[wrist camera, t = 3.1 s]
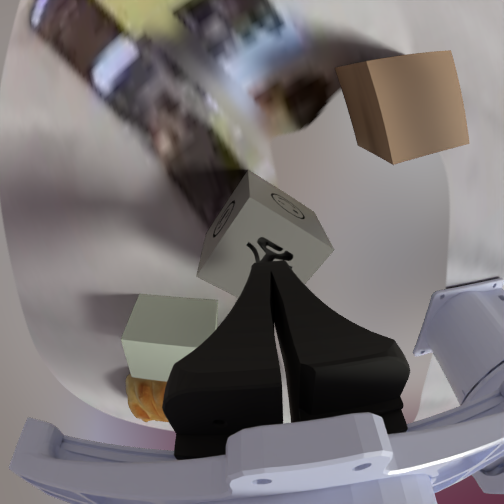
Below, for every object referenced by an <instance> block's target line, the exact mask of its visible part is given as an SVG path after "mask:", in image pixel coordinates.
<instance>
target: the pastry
mask: <svg viewBox="0 0 504 504" xmlns="http://www.w3.org/2000/svg"><path fill="white" fill-rule="evenodd" d="M166 383H167V382H165V381H157V380H149V379H142V378H135V377H132V376H131V374H129V375H128V376H127V378H126V393H127V396H128V405H129V408H130V410H131V412H132V413H133V414H134V416H135V417H136V418H139V419H142V420H143V421H144V422H148V421H151V420H155V421H163V422H164V421H165V422H169V421H168V420H167V418H166V416H165V415H164V412H163V409H162V404H163V398H164V392H165V387H166Z"/></svg>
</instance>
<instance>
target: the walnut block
mask: <svg viewBox="0 0 504 504" xmlns="http://www.w3.org/2000/svg"><path fill="white" fill-rule="evenodd" d="M335 70H336V73H337V76H338V79H339V82H340V85H341V88H342V92H343V95H344V99H345V102H346V105H347V108H348V112H349V115H350V119H351V122H352V126H353V129H354V133H355V137H356V141H357V144H358V146H360V147H362V148H364V149H366V150H368V151H369V152H371V153H373V154H375V155H377V156H378V157H380V158H382V159H384V160H386V161H387V162H389V163H391V164H393V165H394V164H397V163H401V162H404V161H408V160H411V159H415V158H418V157H422V156H425V155H429V154H433V153H436V152H440V151H444V150H447V149H451V148H455V147H458V146H462V145H466V144H469V136H468V129H467V122H466V116H465V110H464V104H463V99H462V94H461V89H460V85H459V80H458V76H457V72H456V68H455V64H454V60H453V56H452V53H451V50H450V51H437V52H426V53H417V54H409V55H401V56H394V57H388V58H381V59H375V60H370V61H365V62H359V63H355V64H350V65H345V66H341V67H336V68H335Z"/></svg>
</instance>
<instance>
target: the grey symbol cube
mask: <svg viewBox="0 0 504 504" xmlns="http://www.w3.org/2000/svg"><path fill="white" fill-rule="evenodd" d="M333 251H334V248H333V246H332V244H331V243H330V241H329V239H328V237H327V235H326V233H325V231H324V229H323V228H322V226H321V224H320V222H319V220H318V218H317V216H316V214H315V213H314V211H312V210H311V209H309V208H307V207H306V206H305V205H303V204H301V203H300V202H298V201H297V200H295V199H294V198H292V197H291V196H289V195H288V194H286V193H285V192H283V191H281V190H280V189H278V188H276V187H275V186H273V185H272V184H270V183H269V182H267V181H265V180H264V179H262V178H261V177H259V176H257V175H256V174H254V173H253V172H251V171H249V170H248V171H247V172H246V174H245V175H244V177H243V178H242V180H241V181H240V183H239V184H238V186H237V187H236V189H235V190H234V192H233V193H232V195H231V196H230V198H229V199H228V201H227V202H226V204H225V205H224V207H223V208H222V210H221V211H220V213H219V215H218V216H217V218H216V219H215V221H214V222H213V224H212V225H211V227H210V229H209V230H208V232H207V233H206V236H205V241H204V245H203V249H202V254H201V258H200V262H199V267H198V271H197V276H196V277H198V278H200V279H202V280H204V281H206V282H208V283H210V284H212V285H214V286H216V287H218V288H220V289H222V290H224V291H226V292H228V293H230V294H232V295H234V296H236V297H238V298H239V296H240V295H241V293H242V291H243V288H244V286H245V284H246V282H247V280H248V277H249V274H250V271H251V266H252V265H253V264H254V263H260V262H271V261H281V260H285V261H286V262H287V263H288V265H289V266H290V268H291V269H292V270H293V272H294V273H295V274H296V275H297V277H298V278H299V279H300V280H301V281H302V282H303V283H304V285H305V283H306V282H307V281H308V280H309V279H310V277H312V275H313V274H314V273H315V272H316V271H317V270H318V268H319V267H320V266H321V265H322V264H323V263H324V261H325V260H326V259H327V258H328V257H329V255H330V254H331V253H332V252H333Z"/></svg>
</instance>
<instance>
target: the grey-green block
mask: <svg viewBox="0 0 504 504" xmlns="http://www.w3.org/2000/svg"><path fill="white" fill-rule="evenodd" d="M217 314H218V300H209V299H195V298H182V297H170V296H158V295H147V294H139V296H138V299H137V301H136V303H135V306H134V308H133V310H132V313H131V315H130V318H129V320H128V323H127V325H126V328H125V330H124V333H123V335H122V338H121V341H122V345H123V349H124V352H125V356H126V360H127V363H128V366H129V370H130V373H131V376H132V377H135V378H142V379H149V380H157V381H165V382H167V380H168V378H169V375H170V372H171V370H172V367H173V365H174V364H175V363H176V362H178V361H179V360H181V359H182V358H183V357H185V356H186V355H188V354H189V353H191V352H192V351H193V350H195V349H196V348H197V347H198V346H199V345H201V344H202V343H203V342H204V341H205V340H206V339H207V338H208V337H209V336H210V335H211V334H212V333H213V332H214V331H215V330H216V329H217Z"/></svg>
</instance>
